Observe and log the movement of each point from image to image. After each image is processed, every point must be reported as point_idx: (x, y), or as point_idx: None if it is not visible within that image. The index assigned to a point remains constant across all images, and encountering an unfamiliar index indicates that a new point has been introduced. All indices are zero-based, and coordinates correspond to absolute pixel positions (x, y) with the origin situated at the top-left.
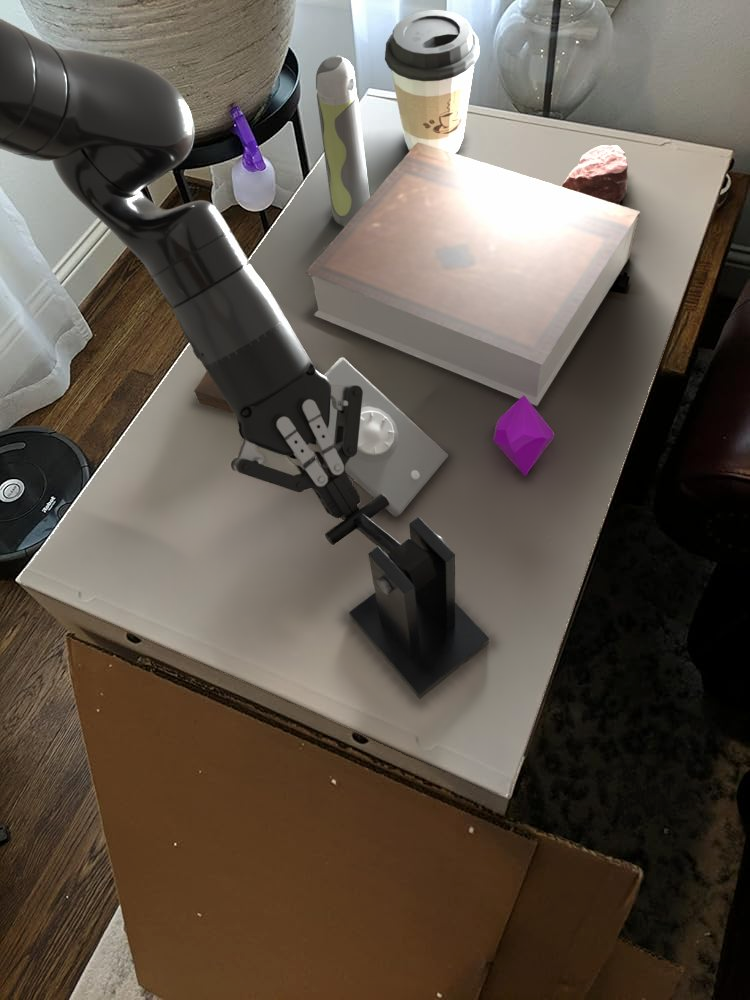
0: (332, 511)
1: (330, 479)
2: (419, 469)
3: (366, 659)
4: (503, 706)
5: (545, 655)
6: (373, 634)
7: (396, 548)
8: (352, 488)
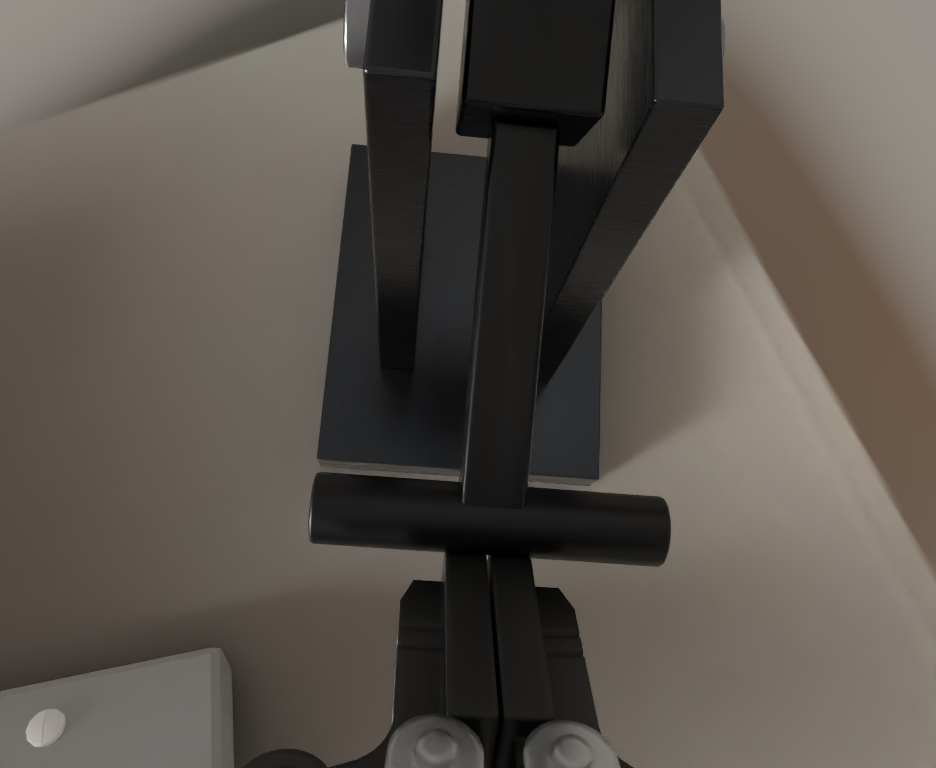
0: (569, 622)
1: (490, 753)
2: (13, 735)
3: (632, 358)
4: (450, 44)
5: (273, 51)
6: (587, 372)
7: (550, 103)
8: (410, 643)
